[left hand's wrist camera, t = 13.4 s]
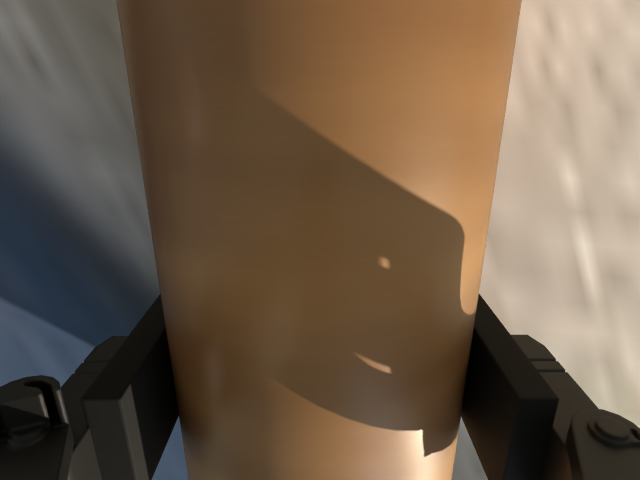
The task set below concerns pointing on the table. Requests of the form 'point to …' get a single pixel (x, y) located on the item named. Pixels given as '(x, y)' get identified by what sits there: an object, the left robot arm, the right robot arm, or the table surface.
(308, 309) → the rod
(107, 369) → the left robot arm
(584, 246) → the table surface
